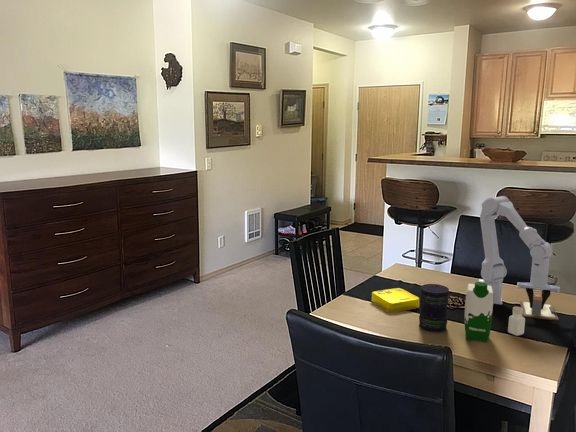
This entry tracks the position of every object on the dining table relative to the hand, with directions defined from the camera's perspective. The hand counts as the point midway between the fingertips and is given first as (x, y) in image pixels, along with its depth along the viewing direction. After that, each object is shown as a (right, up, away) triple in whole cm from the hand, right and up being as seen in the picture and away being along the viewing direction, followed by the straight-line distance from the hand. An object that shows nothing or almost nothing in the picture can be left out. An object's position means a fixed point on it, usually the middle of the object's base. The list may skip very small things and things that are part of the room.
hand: (536, 307), depth 185 cm
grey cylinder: (0, -2, 0) cm, 2 cm away
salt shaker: (-16, -6, -16) cm, 23 cm away
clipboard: (+3, -2, +4) cm, 6 cm away
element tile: (-52, -1, +13) cm, 54 cm away
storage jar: (-44, -5, -10) cm, 45 cm away
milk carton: (-31, -7, -18) cm, 36 cm away
